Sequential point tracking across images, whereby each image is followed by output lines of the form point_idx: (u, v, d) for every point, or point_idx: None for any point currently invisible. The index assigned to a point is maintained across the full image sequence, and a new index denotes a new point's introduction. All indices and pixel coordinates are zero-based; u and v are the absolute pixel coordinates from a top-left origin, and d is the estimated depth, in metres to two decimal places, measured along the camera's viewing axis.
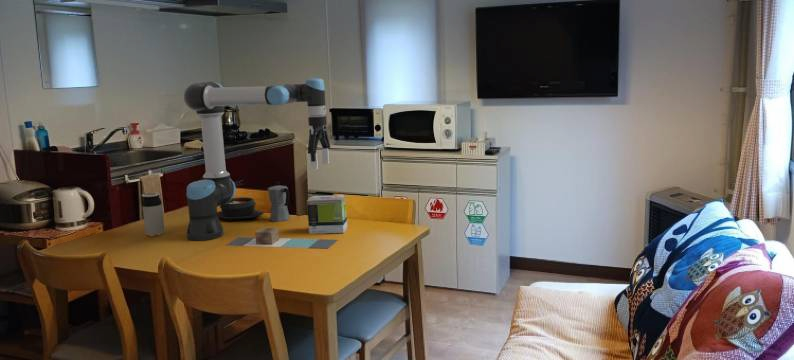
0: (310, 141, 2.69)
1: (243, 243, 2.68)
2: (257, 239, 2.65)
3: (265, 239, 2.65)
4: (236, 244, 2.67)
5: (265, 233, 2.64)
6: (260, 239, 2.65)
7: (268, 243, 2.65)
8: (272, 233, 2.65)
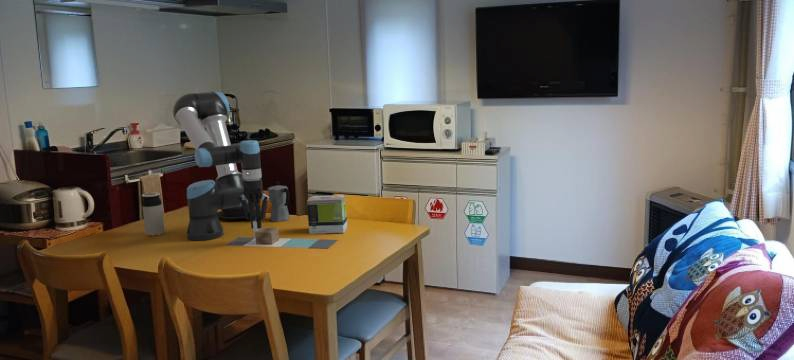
0: None
1: (243, 243, 2.68)
2: (257, 239, 2.65)
3: (265, 239, 2.65)
4: (236, 244, 2.67)
5: (265, 233, 2.64)
6: (260, 239, 2.65)
7: (268, 243, 2.65)
8: (272, 233, 2.65)
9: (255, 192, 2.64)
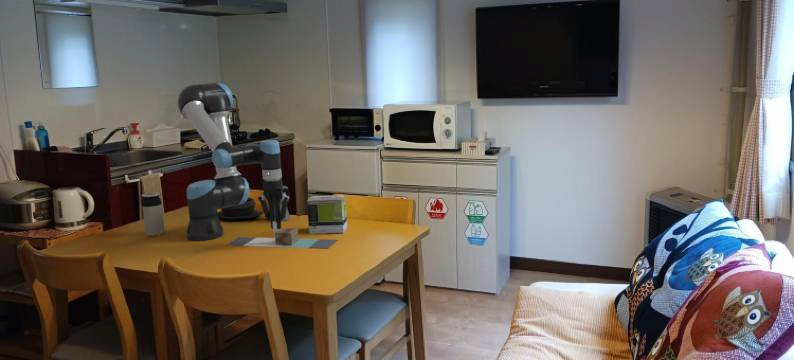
0: None
1: (243, 243, 2.68)
2: (277, 239, 2.64)
3: (285, 239, 2.63)
4: (236, 244, 2.67)
5: (285, 233, 2.62)
6: (280, 239, 2.63)
7: (288, 243, 2.63)
8: (292, 233, 2.63)
9: (275, 192, 2.62)
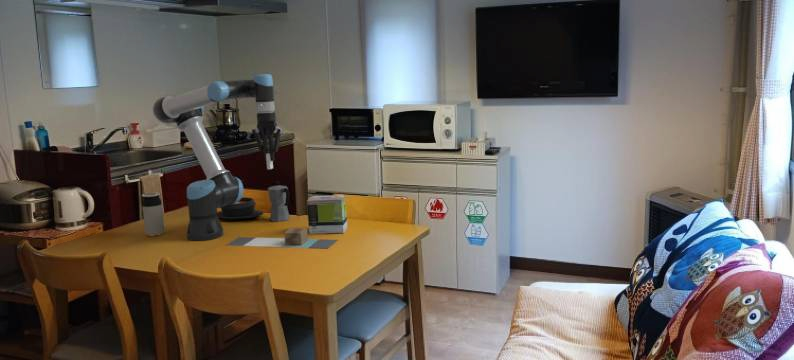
0: None
1: (243, 243, 2.68)
2: (286, 240, 2.63)
3: (295, 240, 2.62)
4: (236, 244, 2.67)
5: (294, 234, 2.61)
6: (290, 239, 2.62)
7: (297, 244, 2.62)
8: (301, 234, 2.62)
9: (268, 125, 2.71)
